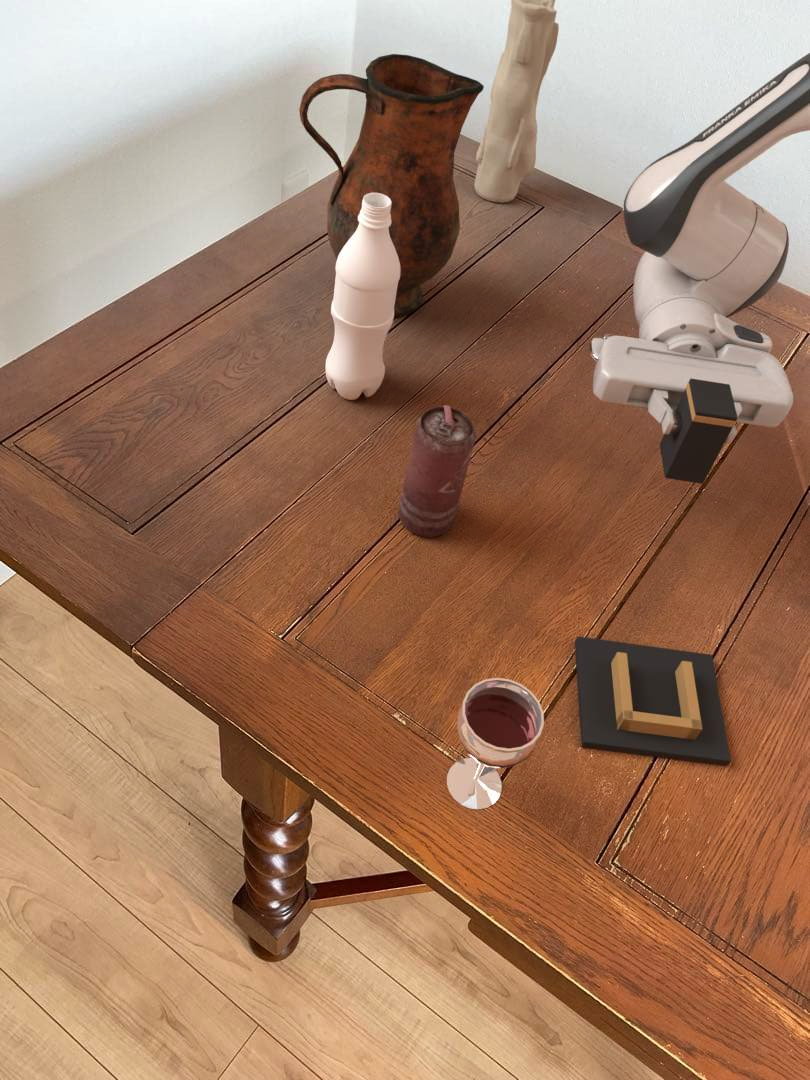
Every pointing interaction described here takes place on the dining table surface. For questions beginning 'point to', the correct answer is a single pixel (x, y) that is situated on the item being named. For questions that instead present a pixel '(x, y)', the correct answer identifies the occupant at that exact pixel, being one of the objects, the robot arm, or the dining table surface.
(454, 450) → the can
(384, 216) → the water bottle
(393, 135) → the pitcher
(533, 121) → the vase
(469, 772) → the wineglass
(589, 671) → the base pad
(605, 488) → the dining table surface
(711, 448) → the upright block
